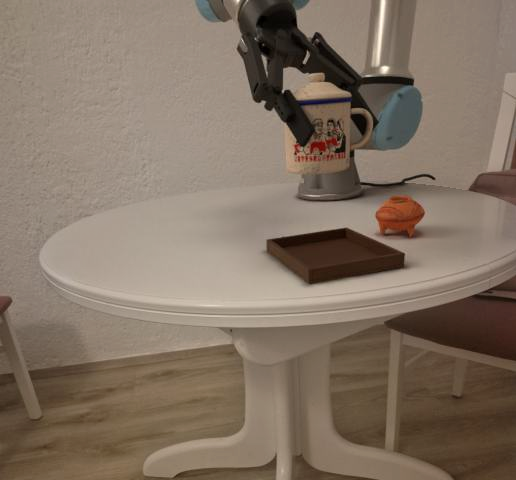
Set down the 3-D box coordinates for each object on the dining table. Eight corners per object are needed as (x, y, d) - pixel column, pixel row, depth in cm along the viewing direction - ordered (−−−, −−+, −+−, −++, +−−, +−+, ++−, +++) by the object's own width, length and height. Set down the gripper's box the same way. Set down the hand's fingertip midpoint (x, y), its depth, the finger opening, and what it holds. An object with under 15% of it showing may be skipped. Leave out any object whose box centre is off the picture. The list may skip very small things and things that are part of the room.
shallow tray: (346, 239, 81) (346, 227, 80) (404, 267, 66) (405, 253, 65) (266, 251, 77) (266, 239, 76) (308, 284, 63) (308, 269, 62)
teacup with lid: (288, 177, 62) (285, 74, 57) (281, 168, 70) (277, 77, 65) (380, 170, 63) (385, 67, 57) (362, 162, 71) (365, 71, 65)
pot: (436, 231, 80) (434, 192, 76) (400, 250, 78) (396, 211, 74) (402, 221, 86) (398, 185, 83) (368, 239, 84) (363, 202, 81)
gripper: (310, 37, 76) (383, 146, 71) (180, 35, 64) (258, 166, 59) (334, -11, 69) (416, 105, 65) (195, -23, 57) (284, 118, 53)
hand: (341, 134), depth 62 cm, fingers closed on teacup with lid, 11 cm apart
